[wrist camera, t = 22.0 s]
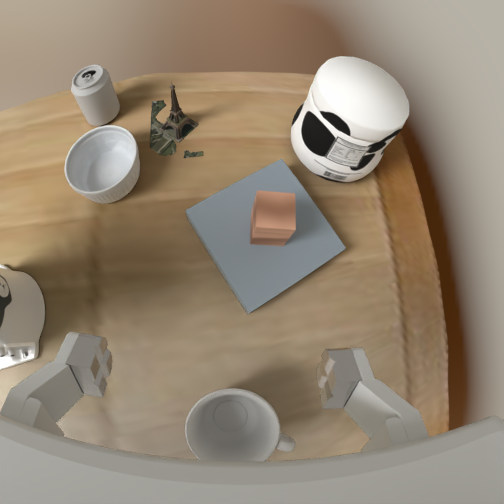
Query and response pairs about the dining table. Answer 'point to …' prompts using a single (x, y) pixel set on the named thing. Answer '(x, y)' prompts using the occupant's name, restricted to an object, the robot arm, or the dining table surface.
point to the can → (95, 95)
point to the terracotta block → (272, 218)
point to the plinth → (262, 256)
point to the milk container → (348, 119)
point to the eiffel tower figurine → (170, 128)
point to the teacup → (234, 427)
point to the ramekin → (103, 164)
